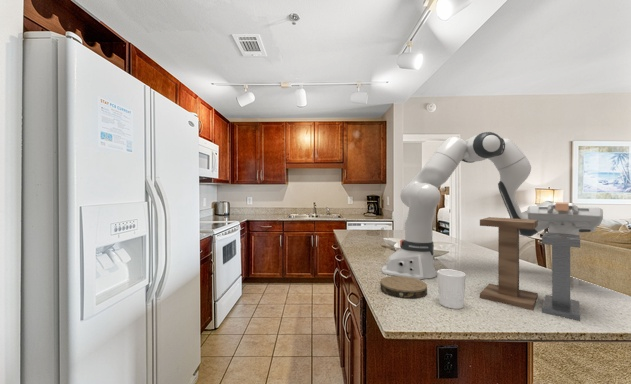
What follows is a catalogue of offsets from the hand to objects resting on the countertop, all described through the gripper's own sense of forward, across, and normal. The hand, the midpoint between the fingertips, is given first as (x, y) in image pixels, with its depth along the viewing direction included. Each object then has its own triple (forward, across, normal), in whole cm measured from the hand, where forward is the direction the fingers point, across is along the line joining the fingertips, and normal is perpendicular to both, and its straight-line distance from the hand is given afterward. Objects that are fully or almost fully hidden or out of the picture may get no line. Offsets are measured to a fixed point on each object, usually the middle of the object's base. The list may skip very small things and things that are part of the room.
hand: (562, 204), depth 95 cm
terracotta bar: (+5, 0, +4) cm, 6 cm away
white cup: (+16, -25, +46) cm, 54 cm away
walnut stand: (-1, -13, +36) cm, 38 cm away
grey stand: (-1, 0, +36) cm, 36 cm away
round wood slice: (+14, -42, +45) cm, 63 cm away
